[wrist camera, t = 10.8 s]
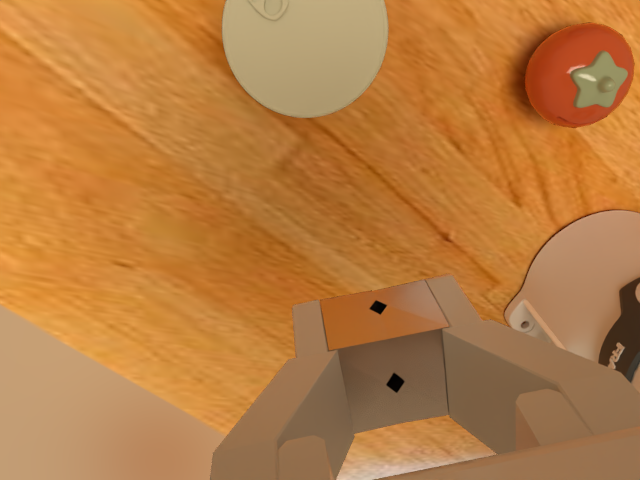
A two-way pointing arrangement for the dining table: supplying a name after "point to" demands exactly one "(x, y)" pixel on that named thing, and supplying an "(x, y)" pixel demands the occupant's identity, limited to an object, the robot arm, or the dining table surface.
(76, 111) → the dining table surface
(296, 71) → the can
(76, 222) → the dining table surface
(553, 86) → the tomato
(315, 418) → the robot arm
